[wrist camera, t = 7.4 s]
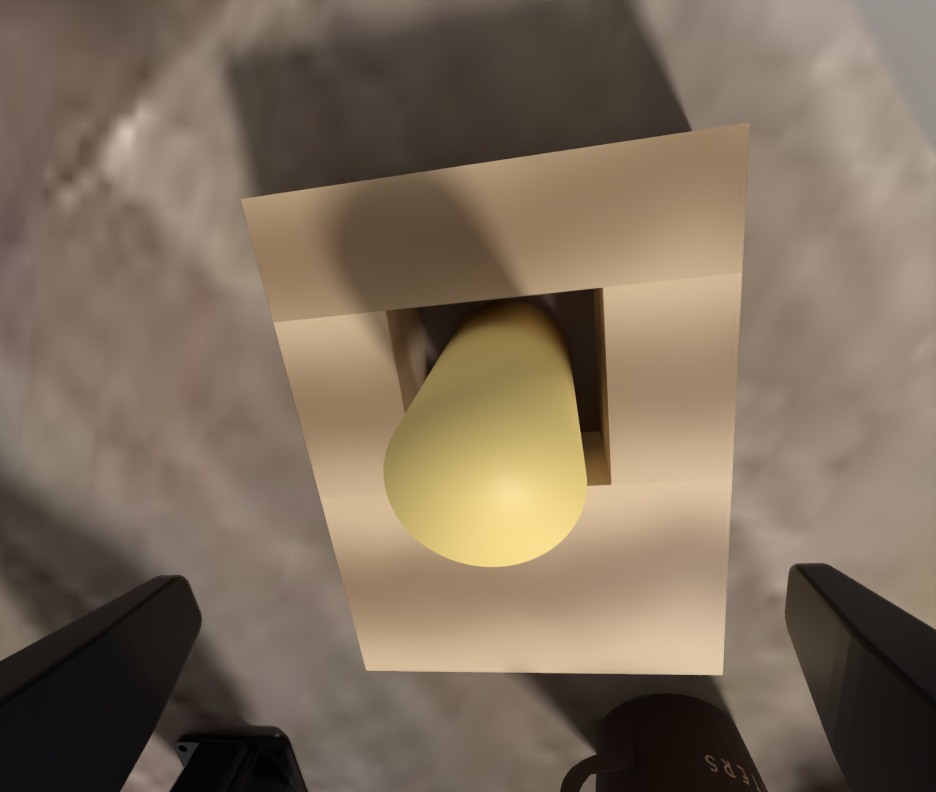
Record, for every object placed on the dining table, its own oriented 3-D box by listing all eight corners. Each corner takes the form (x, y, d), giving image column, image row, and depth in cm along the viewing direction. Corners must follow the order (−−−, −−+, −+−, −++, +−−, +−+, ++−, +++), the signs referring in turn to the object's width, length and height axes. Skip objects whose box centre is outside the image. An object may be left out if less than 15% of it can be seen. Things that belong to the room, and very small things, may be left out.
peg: (573, 410, 18) (593, 564, 11) (458, 419, 19) (402, 569, 12) (564, 293, 17) (580, 378, 9) (441, 306, 18) (365, 397, 10)
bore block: (687, 578, 21) (722, 675, 17) (397, 583, 23) (366, 670, 19) (695, 137, 16) (749, 122, 12) (311, 194, 18) (240, 199, 14)
